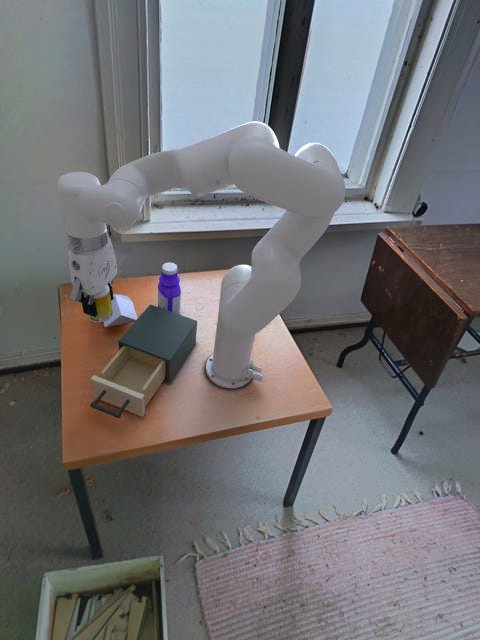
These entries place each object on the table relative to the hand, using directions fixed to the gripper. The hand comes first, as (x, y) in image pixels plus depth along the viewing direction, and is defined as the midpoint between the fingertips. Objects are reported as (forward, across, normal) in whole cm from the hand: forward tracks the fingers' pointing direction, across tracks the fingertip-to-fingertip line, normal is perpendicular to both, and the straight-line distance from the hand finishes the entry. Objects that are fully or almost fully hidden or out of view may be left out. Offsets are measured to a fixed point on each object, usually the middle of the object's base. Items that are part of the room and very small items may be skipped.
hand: (99, 305), depth 93 cm
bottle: (+19, +23, -6) cm, 30 cm away
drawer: (+17, -7, -11) cm, 22 cm away
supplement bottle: (+3, 0, 0) cm, 3 cm away
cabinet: (+18, +8, -11) cm, 23 cm away
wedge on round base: (+18, +15, +6) cm, 24 cm away
